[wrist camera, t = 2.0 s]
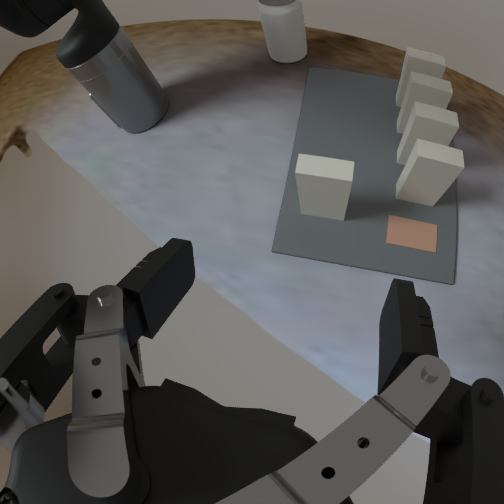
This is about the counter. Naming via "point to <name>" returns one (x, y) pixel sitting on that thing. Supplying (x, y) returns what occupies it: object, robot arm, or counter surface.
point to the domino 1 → (323, 185)
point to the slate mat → (364, 185)
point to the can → (283, 29)
